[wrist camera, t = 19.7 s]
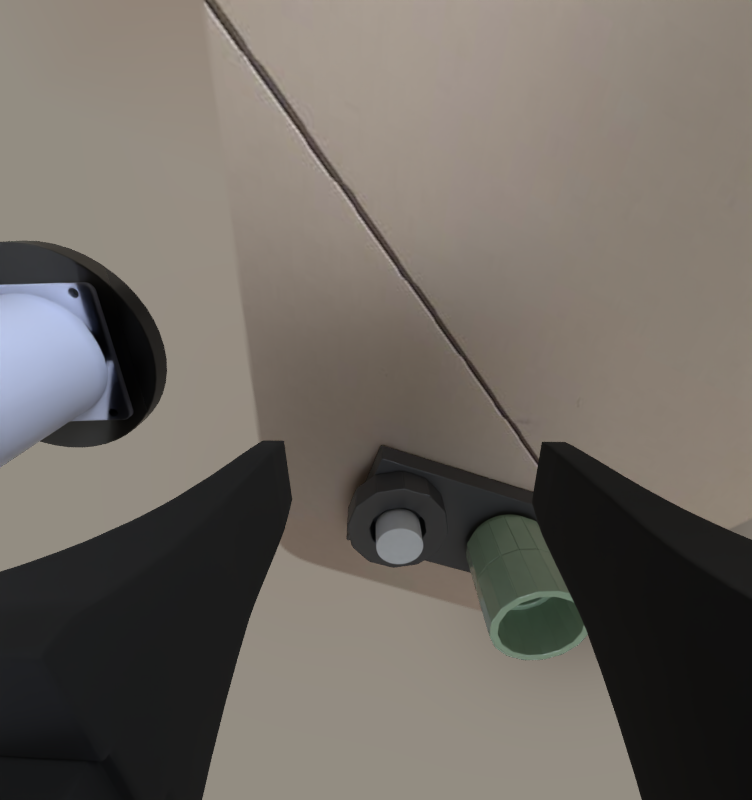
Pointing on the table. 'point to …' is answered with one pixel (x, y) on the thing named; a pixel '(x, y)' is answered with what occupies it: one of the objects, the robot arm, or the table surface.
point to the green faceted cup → (522, 590)
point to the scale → (430, 506)
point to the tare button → (398, 536)
